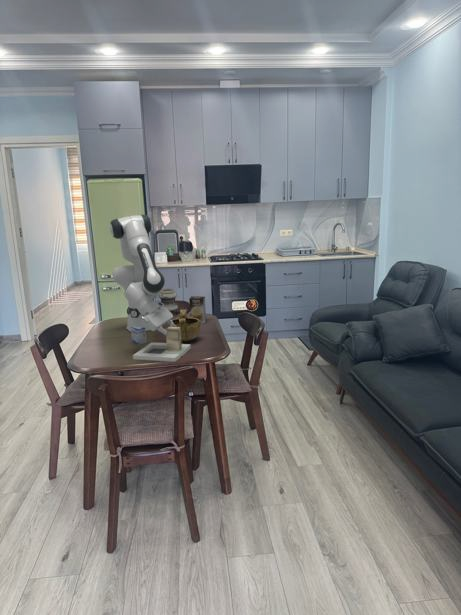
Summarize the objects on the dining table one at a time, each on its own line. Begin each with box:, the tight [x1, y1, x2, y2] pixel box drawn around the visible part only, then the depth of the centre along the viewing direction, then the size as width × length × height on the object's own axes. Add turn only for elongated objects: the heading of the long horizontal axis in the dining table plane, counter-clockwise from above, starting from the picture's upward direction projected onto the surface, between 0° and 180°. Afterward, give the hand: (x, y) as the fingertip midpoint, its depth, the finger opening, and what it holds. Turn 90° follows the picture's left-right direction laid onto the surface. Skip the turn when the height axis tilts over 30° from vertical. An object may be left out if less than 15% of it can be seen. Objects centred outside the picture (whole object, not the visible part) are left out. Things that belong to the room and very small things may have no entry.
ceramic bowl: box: [167, 308, 201, 343], centre depth 225 cm, size 22×17×15 cm
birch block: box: [165, 327, 183, 351], centre depth 203 cm, size 4×6×11 cm, turn 74°
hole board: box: [132, 342, 192, 363], centre depth 207 cm, size 20×22×2 cm
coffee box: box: [188, 296, 207, 324], centre depth 261 cm, size 9×6×16 cm
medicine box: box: [130, 326, 147, 345], centre depth 226 cm, size 8×4×9 cm, turn 44°
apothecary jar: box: [158, 288, 179, 318], centre depth 281 cm, size 12×12×18 cm
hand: (170, 330), depth 203 cm, fingers open, 8 cm apart
